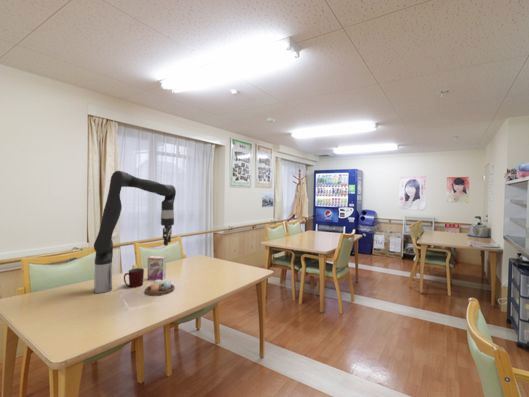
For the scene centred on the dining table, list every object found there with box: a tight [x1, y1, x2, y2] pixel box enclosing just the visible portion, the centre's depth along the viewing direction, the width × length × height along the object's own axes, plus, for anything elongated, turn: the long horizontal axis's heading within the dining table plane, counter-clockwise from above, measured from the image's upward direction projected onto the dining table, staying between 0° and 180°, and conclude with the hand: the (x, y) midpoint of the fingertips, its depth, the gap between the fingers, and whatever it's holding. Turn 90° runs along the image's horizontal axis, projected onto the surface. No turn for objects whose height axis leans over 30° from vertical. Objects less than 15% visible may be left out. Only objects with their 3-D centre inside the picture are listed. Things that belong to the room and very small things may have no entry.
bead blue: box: [162, 280, 172, 291], centre depth 164 cm, size 4×4×5 cm
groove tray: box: [144, 282, 175, 297], centre depth 163 cm, size 16×16×3 cm
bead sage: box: [153, 279, 163, 287], centre depth 166 cm, size 4×4×5 cm
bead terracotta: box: [150, 282, 159, 292], centre depth 159 cm, size 4×4×5 cm
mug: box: [123, 267, 145, 289], centre depth 170 cm, size 12×9×11 cm
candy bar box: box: [147, 255, 167, 281], centre depth 185 cm, size 11×5×16 cm, turn 84°
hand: (167, 243), depth 163 cm, fingers open, 8 cm apart
